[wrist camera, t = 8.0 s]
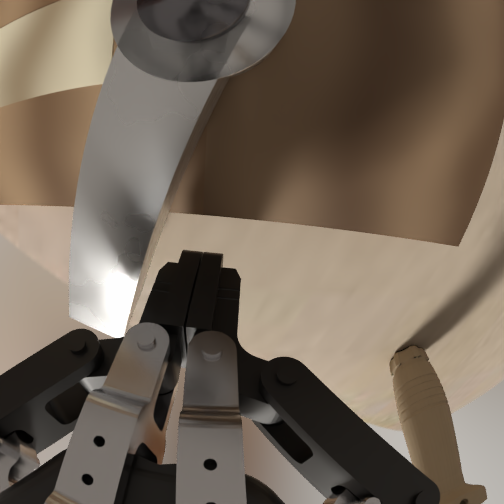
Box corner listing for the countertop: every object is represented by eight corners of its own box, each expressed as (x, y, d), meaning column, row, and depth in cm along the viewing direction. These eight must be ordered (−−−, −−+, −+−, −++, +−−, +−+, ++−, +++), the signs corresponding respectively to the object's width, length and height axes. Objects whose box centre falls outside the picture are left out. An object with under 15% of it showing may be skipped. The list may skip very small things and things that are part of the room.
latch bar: (189, -42, 5) (154, -88, 2) (305, -1, 6) (334, -38, 3) (82, 264, 12) (48, 320, 9) (156, 296, 13) (135, 359, 10)
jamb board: (487, -6, 5) (513, -8, 3) (439, 225, 13) (458, 247, 11) (18, -34, 3) (-6, -37, 2) (13, 188, 12) (-8, 205, 10)
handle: (381, 342, 19) (422, 534, 7) (446, 332, 19) (499, 492, 6) (364, 374, 22) (390, 534, 9) (424, 364, 21) (461, 505, 9)
